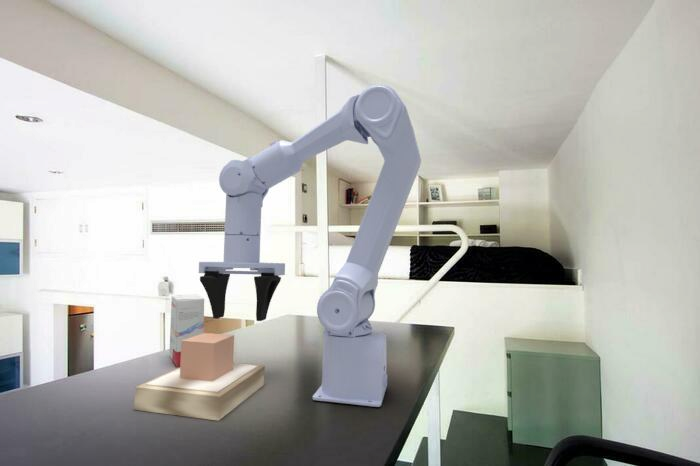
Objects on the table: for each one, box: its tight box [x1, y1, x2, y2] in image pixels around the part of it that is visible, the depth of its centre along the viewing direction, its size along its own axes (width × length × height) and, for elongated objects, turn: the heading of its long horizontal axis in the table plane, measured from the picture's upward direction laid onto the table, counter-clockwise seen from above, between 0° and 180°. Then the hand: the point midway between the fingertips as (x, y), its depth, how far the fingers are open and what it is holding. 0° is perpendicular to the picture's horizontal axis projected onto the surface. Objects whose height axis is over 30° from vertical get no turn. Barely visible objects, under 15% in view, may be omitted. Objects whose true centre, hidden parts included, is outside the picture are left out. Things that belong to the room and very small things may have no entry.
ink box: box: [169, 293, 205, 368], centre depth 65 cm, size 9×5×12 cm, turn 33°
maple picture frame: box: [133, 362, 266, 422], centre depth 49 cm, size 12×12×3 cm
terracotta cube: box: [179, 332, 235, 382], centre depth 49 cm, size 5×5×5 cm
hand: (239, 318), depth 57 cm, fingers open, 7 cm apart
